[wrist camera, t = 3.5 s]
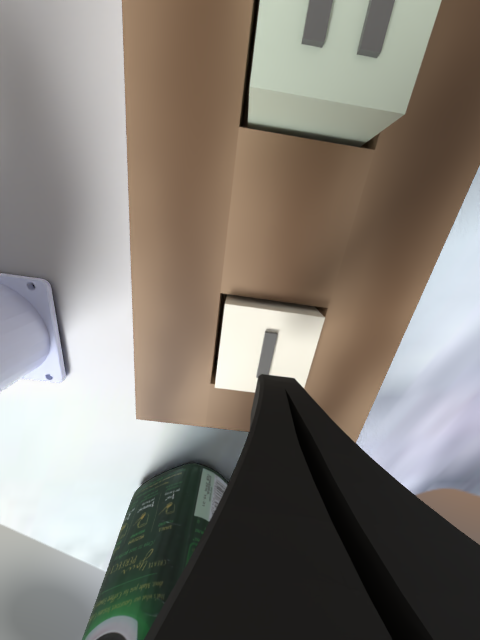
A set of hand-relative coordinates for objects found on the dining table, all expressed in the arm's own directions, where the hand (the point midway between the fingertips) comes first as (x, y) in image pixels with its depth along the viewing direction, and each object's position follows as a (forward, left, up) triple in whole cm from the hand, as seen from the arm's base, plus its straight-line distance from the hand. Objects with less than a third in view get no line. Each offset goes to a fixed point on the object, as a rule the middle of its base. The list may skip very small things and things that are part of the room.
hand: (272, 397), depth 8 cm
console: (0, +6, -8) cm, 10 cm away
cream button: (0, 0, -6) cm, 6 cm away
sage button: (0, +12, -5) cm, 13 cm away
